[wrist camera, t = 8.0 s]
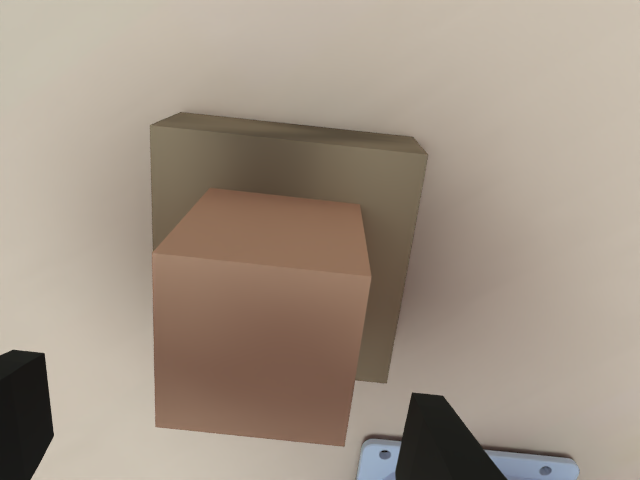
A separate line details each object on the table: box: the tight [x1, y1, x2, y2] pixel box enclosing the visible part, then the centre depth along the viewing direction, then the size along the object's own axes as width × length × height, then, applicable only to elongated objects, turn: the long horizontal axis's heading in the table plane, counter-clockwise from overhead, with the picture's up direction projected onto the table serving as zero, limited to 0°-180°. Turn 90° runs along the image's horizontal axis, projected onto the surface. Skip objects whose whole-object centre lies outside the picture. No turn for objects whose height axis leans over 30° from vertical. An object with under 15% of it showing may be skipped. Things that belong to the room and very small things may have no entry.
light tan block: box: [152, 188, 371, 446], centre depth 13 cm, size 4×4×5 cm
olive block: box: [150, 112, 428, 383], centre depth 17 cm, size 8×8×3 cm
